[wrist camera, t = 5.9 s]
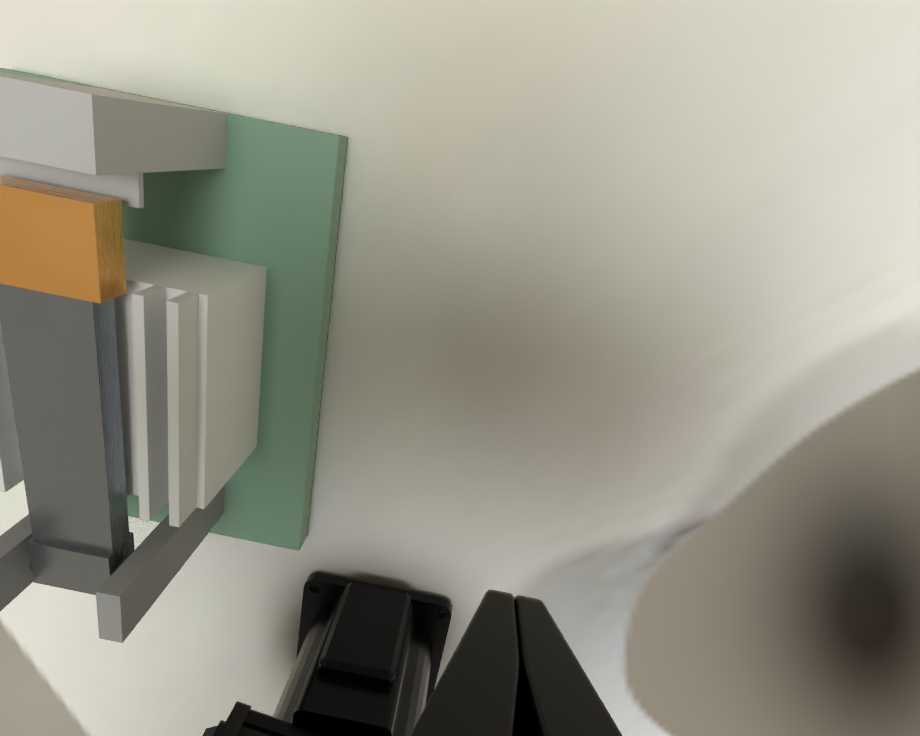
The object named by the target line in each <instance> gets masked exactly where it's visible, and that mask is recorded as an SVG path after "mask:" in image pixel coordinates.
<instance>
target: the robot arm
mask: <svg viewBox="0 0 920 736" xmlns="http://www.w3.org/2000/svg"><path fill="white" fill-rule="evenodd" d="M314 584H316V585H319V586H320V587H317V586H315V585H314ZM437 610H443V612H440V611H437ZM451 614H452V605H451V603H450V602H449V601H448V600H446V599H443V598H438V597H433V596H428V595H423V594H418V593H413V592H408V591H403V590H398V589H393V588H388V587H384V586H379V585H374V584H369V583H364V582H359V581H354V580H349V579H344V578H339V577H334V576H329V575H324V574H319V573H314V574H311V575H310V576H309V577H308V578H307V581H306V583H305V585H304V591H303V601H302V611H301V620H300V630H299V640H298V649H297V659H296V662H295V664H294V667H293V669H292V671H291V674H290V676H289V679H288V681H287V684H286V686H285V688H284V691H283V693H282V696H281V698H280V701H279V703H278V705H277V708H276V710H275V713H274V715H273V717H272V716H269V715H266V714H263V713H260V712H257V711H255V710H252V709H251V706H249V705H246V704H244V703H241V702H238V701H237V702H236V704H235V706H234V708H233V710H232V712H231V713H230V715H229V717H228V719H227V721H226V722H225V721H222V720H221V721H220V723H219V725H218V726H215V727H211V728H207V729H206V730H205V732H204V734H203V736H622V734H621V733H620V731H619V729H618V728H617V726H616V724H615V723H614V721H613V719H612V718H611V716H610V714H609V712H608V711H607V709H606V707H605V706H604V704H603V702H602V701H601V699H600V697H599V696H598V694H597V692H596V691H595V689H594V687H593V686H592V684H591V682H590V680H589V679H588V677H587V675H586V674H585V672H584V670H583V669H582V667H581V665H580V664H579V662H578V660H577V659H576V657H575V655H574V654H573V652H572V650H571V648H570V647H569V645H568V643H567V642H566V640H565V638H564V637H563V635H562V633H561V632H560V630H559V628H558V627H557V625H556V623H555V622H554V620H553V618H552V616H551V615H550V613H549V611H548V610H547V608H546V606H545V605H544V603H543V602H542V601H541V600H539V599H535V598H530V597H525V596H520V595H518V596H516V597H515V598H514V597H513V595H512V594H510V593H506V592H501V591H496V590H488V591H487V592H486V594H485V595H484V597H483V599H482V601H481V603H480V605H479V607H478V609H477V611H476V612H475V614H474V616H473V618H472V620H471V622H470V624H469V626H468V627H467V629H466V631H465V633H464V635H463V637H462V639H461V641H460V642H459V644H458V646H457V648H456V650H455V652H454V654H453V656H452V657H451V659H450V661H449V663H448V665H447V667H446V669H445V671H444V672H443V674H442V676H441V678H440V680H439V682H438V684H437V686H436V687H435V683H436V679H437V675H438V670H439V666H440V662H441V658H442V653H443V649H444V645H445V641H446V636H447V632H448V628H449V624H450V619H451ZM434 687H435V689H434Z"/></svg>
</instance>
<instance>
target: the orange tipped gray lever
mask: <svg viewBox="0 0 920 736" xmlns="http://www.w3.org/2000/svg"><path fill="white" fill-rule="evenodd" d="M123 294H126V276H125V257H124V239H123V221H122V203H121V199H117V198H112V197H107V196H102V195H97V194H92V193H87V192H82V191H77V190H72V189H67V188H62V187H57V186H52V185H47V184H42V183H37V182H32V181H27V180H22V179H17V178H12V177H7V176H2V175H0V324H1V330H2V337H3V344H4V350H5V357H6V364H7V370H8V377H9V383H10V390H11V397H12V403H13V410H14V417H15V423H16V430H17V437H18V443H19V450H20V456H21V463H22V470H23V476H24V483H25V490H26V496H27V503H28V510H29V516H30V523H31V529H32V536H33V538H32V539H31V540H30V541H29V542H28V548H29V555H30V569H31V571H32V574H33V580H34V582H35V583H40V584H45V585H50V586H54V587H59V588H64V589H69V590H74V591H79V592H84V593H89V594H94V595H96V591H97V590H98V589H99V588H100V587H101V586H102V585H103V584H104V583H105V582H106V581H107V579H108V578H109V577H110V576H111V575H112V574H113V573H114V572H115V571H116V570H117V569H118V568H119V567H120V566H121V564H122V563H123V562H124V561H125V560H126V559H127V558H128V557H129V556H130V555H131V554H132V553H133V552H134V538H133V533H131V532H129V525H128V509H127V494H126V478H125V463H124V447H123V432H122V417H121V401H120V386H119V370H118V355H117V339H116V324H115V308H114V298H116V297H118V296H121V295H123Z"/></svg>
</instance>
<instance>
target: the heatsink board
mask: <svg viewBox="0 0 920 736" xmlns="http://www.w3.org/2000/svg"><path fill="white" fill-rule="evenodd" d="M347 139H348V137H345V136H340V135H335V134H330V133H325V132H320V131H315V130H310V129H305V128H300V127H295V126H290V125H285V124H280V123H275V122H270V121H265V120H260V119H255V118H250V117H245V116H240V115H235V114H230V113H225V112H220V111H215V110H210V109H205V108H200V107H195V106H190V105H185V104H180V103H175V102H170V101H165V100H160V99H155V98H150V97H145V96H140V95H135V94H130V93H125V92H120V91H115V90H110V89H105V88H100V87H95V86H90V85H85V84H80V83H75V82H70V81H65V80H60V79H55V78H50V77H45V76H40V75H35V74H30V73H25V72H20V71H15V70H9V69H4V68H0V175H2V176H7V177H12V178H17V179H22V180H27V181H32V182H37V183H42V184H47V185H52V186H57V187H62V188H67V189H72V190H77V191H82V192H87V193H92V194H97V195H102V196H107V197H112V198H117V199H121V203H122V221H123V239H124V257H125V276H126V294H123V295H121V296H118V297H116V298H114V308H115V324H116V339H117V355H118V370H119V386H120V401H121V417H122V432H123V447H124V463H125V478H126V494H127V509H128V516H131V517H136V518H140V520H145V521H150V520H151V521H156V522H161V523H160V524H159V525H158V526H157V527H156V528H155V529H154V530H153V531H152V532H151V533H150V534H149V535H148V537H147V538H146V539H145V540H144V541H143V542H142V543H141V544H140V545H139V546H138V547H137V548H136V549H135V550H134V552H133V553H132V554H131V555H130V556H129V557H128V558H127V559H126V560H125V561H124V562H123V563H122V564H121V566H120V567H119V568H118V569H117V570H116V571H115V572H114V573H113V574H112V575H111V576H110V577H109V578H108V579H107V581H106V582H105V583H104V584H103V585H102V586H101V587H100V588H99V589H98V590H97V591H96V600H97V613H98V626H99V638H101V639H106V640H111V641H116V642H121V643H123V642H124V640H125V639H126V638H127V636H128V635H129V634H130V633H131V631H132V630H133V629H134V627H135V626H136V625H137V624H138V622H139V621H140V620H141V618H142V617H143V616H144V615H145V613H146V612H147V611H148V609H149V608H150V607H151V606H152V604H153V603H154V602H155V601H156V599H157V598H158V597H159V595H160V594H161V593H162V592H163V590H164V589H165V588H166V586H167V585H168V584H169V583H170V581H171V580H172V579H173V577H174V576H175V575H176V574H177V572H178V571H179V570H180V569H181V567H182V566H183V565H184V563H185V562H186V561H187V560H188V558H189V557H190V556H191V554H192V553H193V552H194V551H195V549H196V548H197V547H198V545H199V544H200V543H201V542H202V540H203V539H204V538H205V537H206V535H207V534H208V533H209V532H210V533H215V534H220V535H225V536H230V537H235V538H240V539H245V540H250V541H255V542H260V543H265V544H270V545H275V546H279V547H284V548H289V549H294V550H300V548H301V546H302V544H303V542H304V540H305V538H306V536H307V532H308V522H309V512H310V502H311V493H312V483H313V473H314V463H315V453H316V443H317V434H318V424H319V414H320V404H321V394H322V385H323V375H324V365H325V355H326V345H327V336H328V326H329V316H330V306H331V296H332V287H333V277H334V267H335V257H336V247H337V238H338V228H339V218H340V208H341V198H342V188H343V179H344V169H345V159H346V149H347ZM22 480H24V476H23V470H22V463H21V456H20V450H19V443H18V437H17V430H16V423H15V417H14V410H13V403H12V397H11V390H10V383H9V377H8V370H7V364H6V357H5V350H4V344H3V337H2V330H1V324H0V491H2V492H6V491H8V490H9V489H11V488H12V487H14V486H15V485H17V484H18V483H20V482H21V481H22ZM32 538H33V536H32V529H31V523H30V516H29V515H27V516H26V517H25V518H23V519H22V520H21V521H19V522H18V523H17V524H15V525H14V526H13V527H11V528H10V529H9V530H7V531H6V532H5V533H4V534H2V535H1V536H0V611H1V610H2V609H3V608H4V607H5V606H7V605H8V604H9V603H10V602H11V601H12V600H13V599H14V598H15V597H16V596H18V595H19V594H20V593H21V592H22V591H23V590H24V589H25V588H26V587H27V586H29V585H30V584H31V583H32V582H33V581H34V580H33V574H32V571H31V569H30V555H29V548H28V542H29V541H30V540H31V539H32Z"/></svg>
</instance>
